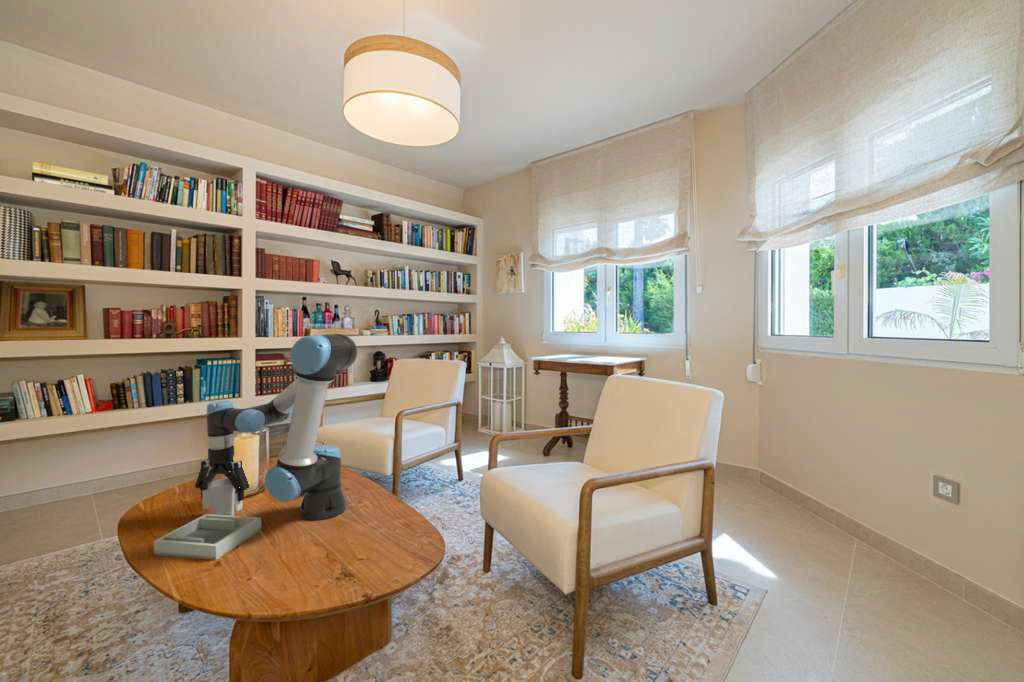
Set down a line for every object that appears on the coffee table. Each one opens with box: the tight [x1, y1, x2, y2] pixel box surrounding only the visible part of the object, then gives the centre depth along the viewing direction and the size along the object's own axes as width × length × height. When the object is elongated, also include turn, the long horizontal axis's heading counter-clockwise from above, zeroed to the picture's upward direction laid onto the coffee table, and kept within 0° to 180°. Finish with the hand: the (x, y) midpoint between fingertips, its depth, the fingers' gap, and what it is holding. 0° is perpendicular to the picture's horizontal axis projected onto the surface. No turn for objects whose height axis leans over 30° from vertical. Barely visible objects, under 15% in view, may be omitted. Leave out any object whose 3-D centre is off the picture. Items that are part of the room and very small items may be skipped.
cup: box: [208, 478, 236, 516], centre depth 150 cm, size 8×8×12 cm
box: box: [153, 513, 262, 561], centre depth 133 cm, size 20×18×4 cm
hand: (222, 508), depth 150 cm, fingers open, 11 cm apart
